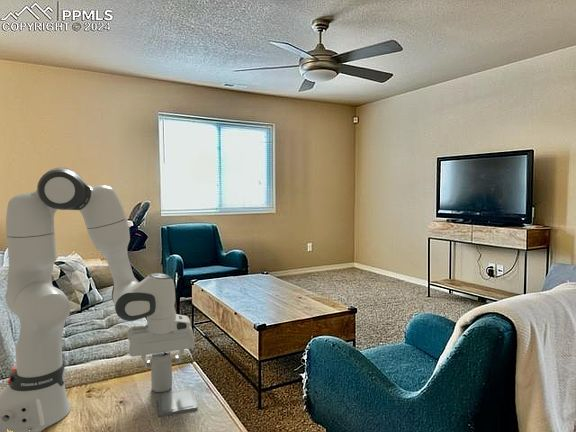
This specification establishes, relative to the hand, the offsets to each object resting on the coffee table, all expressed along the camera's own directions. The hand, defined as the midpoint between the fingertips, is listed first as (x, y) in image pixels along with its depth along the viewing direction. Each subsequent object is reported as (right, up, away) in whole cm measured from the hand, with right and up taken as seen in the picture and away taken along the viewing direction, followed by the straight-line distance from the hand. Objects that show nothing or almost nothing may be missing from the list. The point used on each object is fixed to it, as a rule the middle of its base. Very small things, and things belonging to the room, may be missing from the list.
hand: (163, 363), depth 128 cm
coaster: (+7, -9, -7) cm, 13 cm away
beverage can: (-1, -8, +1) cm, 9 cm away
